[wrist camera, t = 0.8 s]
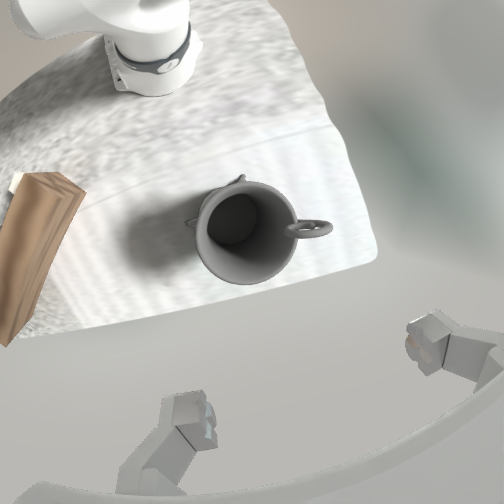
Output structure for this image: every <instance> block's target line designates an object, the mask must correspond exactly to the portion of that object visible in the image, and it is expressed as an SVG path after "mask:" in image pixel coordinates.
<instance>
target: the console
mask: <svg viewBox="0 0 504 504" xmlns="http://www.w3.org/2000/svg"><path fill="white" fill-rule="evenodd" d="M85 195H86V192H85V191H84V190H82V189H81V188H79V187H78V186H77V185H75V184H74V183H73V182H71V181H70V180H69V179H67V178H66V177H64V176H63V175H62V174H60V173H59V172H41V173H24V174H23V176H22V178H21V181H20V183H19V185H18V187H17V190H16V192H15V194H14V197H13V199H12V201H11V204H10V206H9V209H8V211H7V214H6V217H5V220H4V222H3V225H2V228H1V231H0V343H1V344H2V345H3V346H5V347H7V345H8V344H9V343H10V342H11V341H12V339H13V338H14V337H15V336H16V335H17V333H18V332H19V331H20V330H21V329H22V328H23V326H24V325H25V324H26V323H27V322H28V321H29V320H30V318H31V317H32V315H33V312H34V309H35V306H36V303H37V300H38V297H39V295H40V292H41V289H42V286H43V284H44V281H45V279H46V276H47V274H48V271H49V269H50V266H51V264H52V262H53V259H54V257H55V255H56V252H57V250H58V248H59V246H60V244H61V241H62V239H63V237H64V235H65V233H66V231H67V229H68V227H69V225H70V223H71V221H72V219H73V217H74V215H75V213H76V211H77V209H78V208H79V206H80V204H81V202H82V200H83V199H84V197H85Z"/></svg>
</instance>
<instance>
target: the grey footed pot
mask: <svg viewBox="0 0 504 504" xmlns="http://www.w3.org/2000/svg"><path fill="white" fill-rule="evenodd" d="M245 177H246V176H245V175H244V174H242V175H241V178H240V179H239V181H238V183H234V184H231V185H228V186H224V187H220V188H218V189H216V190H214V191H212V192H211V193H210V194H209V195H208V196H207V197H206V198H205V199H204V201H203V202H202V204H201V207H200V210H199V216H198V218H195V219H192V220H190V221H186V222H185V225H186V226H190V227H192V228H195V243H196V248H197V251H198V254H199V256H200V258H201V260H202V262H203V263H204V265H205V266H206V267H207V269H208V270H209V271H210V272H211V273H213V274H214V275H215V276H216V277H218V278H220V279H221V280H223V281H226V282H229V283H232V284H237V285H253V284H258V283H261V282H264V281H266V280H268V279H270V278H272V277H274V276H275V275H276V274H278V273H279V272H280V271H281V270H282V269H283V268H284V267H285V266H286V265H287V264H288V262H289V261H290V259H291V258H292V256H293V254H294V251H295V249H296V246H297V242H298V238H299V239H304V238H315V237H320V236H324V235H327V234H329V233H330V232H331V231H332V230H333V225H332V224H331V223H329V222H327V221H321V220H298V219H297V217H296V214H295V211H294V209H293V207H292V205H291V204H290V202H289V201H288V200H287V199H286V197H285V196H284V195H283V194H281V193H280V192H279V191H278V190H276V189H275V188H273V187H271V186H269V185H266V184H263V183H259V182H252V181H246V180H245ZM315 227H319V229H315ZM301 229H311V230H301Z"/></svg>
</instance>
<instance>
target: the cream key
mask: <svg viewBox="0 0 504 504" xmlns="http://www.w3.org/2000/svg"><path fill="white" fill-rule="evenodd" d="M23 174H24V172H20V173H16V174H15V176H14V178H13V180H12V182H11V185H10V187H9V189H8V190H9V191H10V192H12V193H13V194H15V192H16V190H17V187H18V185H19V183H20V181H21V178H22V176H23Z"/></svg>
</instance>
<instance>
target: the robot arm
mask: <svg viewBox="0 0 504 504" xmlns="http://www.w3.org/2000/svg"><path fill="white" fill-rule="evenodd" d="M9 10H10V16H11V19H12V21H13V22H14V24H15V26H16V27H17V28H18V30H20V31H21V32H22V33H24V34H25V35H27V36H29V37H31V38H34V39H39V40H52V39H55V38H57V37H61V36H65V35H69V34H74V33H83V32H92V33H101V34H104V42H105V51H106V54H107V56H108V60H109V65H110V69H111V73H112V77H113V81H114V85H115V88H116V90H118V91H133V92H136V93H138V94H141V95H144V96H162V95H166V94H169V93H172V92H174V91H176V90H177V89H179V88H180V87H182V86H183V85H184V84H185V83H186V82H187V81H188V80H189V78H190V77H191V75H192V73H193V71H194V68H195V63H196V58H197V56H198V54H199V53H200V52H201V50H202V48H203V43H202V42H201V41H200V40H199V39H198V38H197V34H196V32H195V31H192V29H191V26H190V22H189V1H188V0H9ZM119 79H121V81H118V80H119ZM406 331H407V332H408V333H409V335H408V337H407V338H406V343H405V346H406V351H407V353H408V355H409V357H410V358H411V359H412V360H414V361H417V362H418V367H419V369H420V370H421V371H422V372H423V373H424V374H425V376H428V375H430V374H432V373H434V372H436V371H438V370H439V369H441V368H443V369H444V370H447V371H449V372H452V373H454V374H457V375H459V376H462V377H464V378H467V379H469V380H472V381H474V382H477V384H476V387H475V389H474V392H473V395H471V396H470V397H469V398H467V399H466V400H464V401H463V402H462V403H460V404H459V405H457V406H456V407H454V408H453V409H451V410H450V411H448V412H447V413H445V414H444V415H442V416H440V417H439V418H437V419H435V420H434V421H432V422H430V423H429V424H427V425H425V426H423V427H422V428H420V429H418V430H416V431H414V432H413V433H411V434H409V435H407V436H405V437H403V438H401V439H399V440H397V441H395V442H393V443H391V444H389V445H387V446H385V447H382V448H380V449H378V450H376V451H374V452H371V453H369V454H367V455H364V456H362V457H359V458H357V459H354V460H352V461H349V462H346V463H344V464H341V465H338V466H335V467H332V468H329V469H326V470H323V471H320V472H317V473H314V474H310V475H307V476H303V477H300V478H296V479H293V480H288V481H284V482H280V483H276V484H271V485H266V486H261V487H256V488H251V489H245V490H238V491H231V492H224V493H216V494H205V495H189V496H188V495H187V494H186V493H185V492H184V491H182V490H181V489H180V488H178V487H177V485H178V483H179V481H180V480H181V478H182V476H183V475H184V473H185V471H186V470H187V468H188V466H189V465H190V463H191V461H192V460H193V458H194V456H195V454H196V452H197V451H203V450H209V449H215V448H218V446H217V434H216V432H215V431H214V428H215V426H216V417H215V413H214V410H213V407H212V406H211V404H210V403H208V402H207V401H206V395H205V393H204V392H203V390H197V391H191V392H184V393H177V394H172V395H164V397H163V398H162V403H161V410H160V417H159V424H158V428H155V429H154V430H153V431H152V432H151V433H150V434H149V435H148V436H147V437H146V439H145V440H144V441H143V442H142V443H141V444H140V445H139V446H138V448H137V449H136V450H135V451H134V452H133V453H132V454H131V455H130V456H129V458H128V459H127V460H126V461H125V462H124V463H123V464H122V465H121V466H120V468H119V473H118V479H117V485H116V491H115V494H110V493H102V492H94V491H88V490H82V489H76V488H71V487H66V486H61V485H57V484H53V483H49V482H38V483H36V484H35V485H33V486H32V487H30V488H29V489H28V490H27V491H26V492H24V493H23V494H22V495H21V496H19V497H18V498H17V499H16V500H15V502H14V504H504V333H499V332H493V331H488V330H483V329H477V328H472V327H467V326H463V327H461V326H460V325H458V324H457V323H456V322H455V321H454V320H452V319H451V318H450V317H449V316H447V315H446V314H445V313H444V312H442V311H441V310H440V309H435V310H433V311H432V312H429V313H428V314H426V315H424V316H422V317H420V318H418V319H415V320H413V321H411V322H409V323H408V325H407V330H406Z"/></svg>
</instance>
